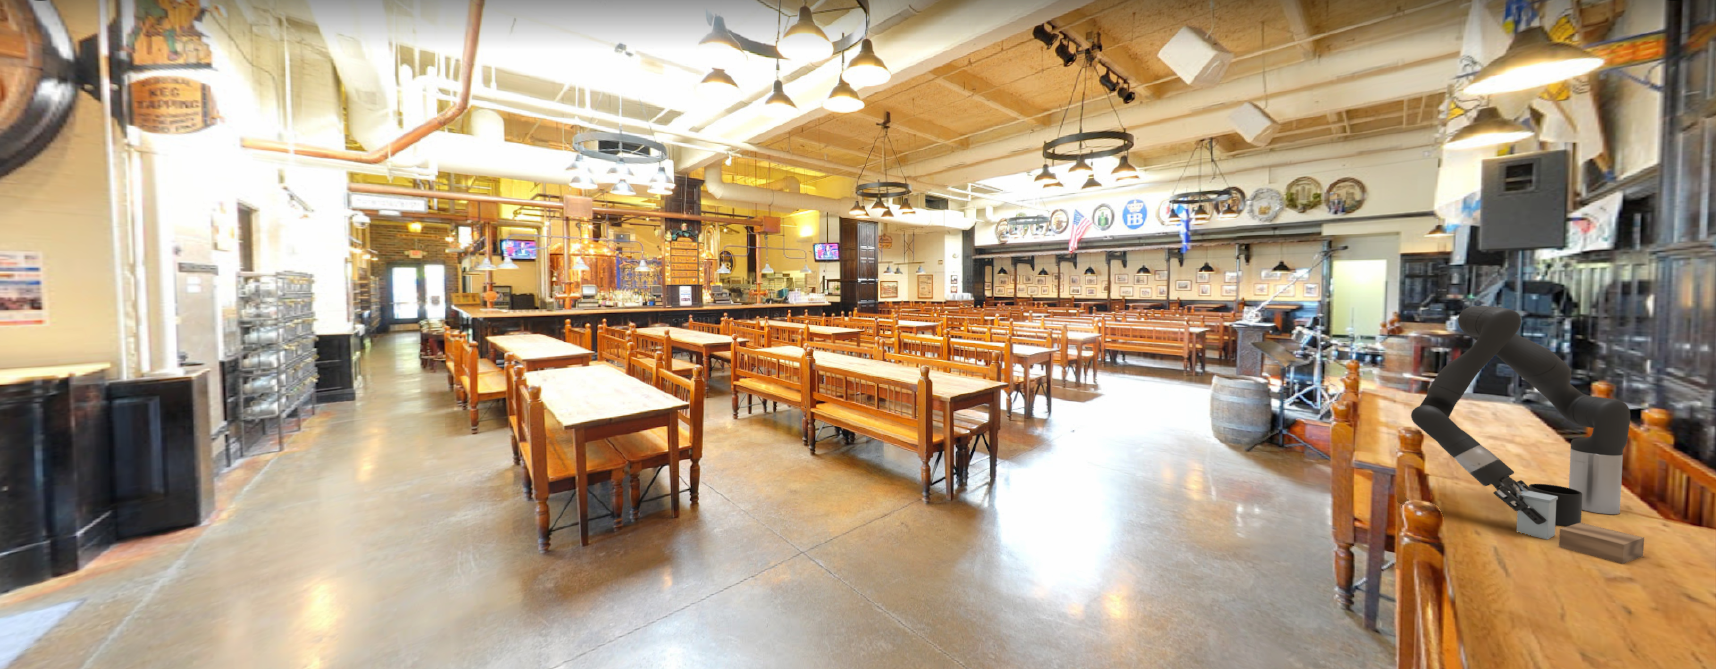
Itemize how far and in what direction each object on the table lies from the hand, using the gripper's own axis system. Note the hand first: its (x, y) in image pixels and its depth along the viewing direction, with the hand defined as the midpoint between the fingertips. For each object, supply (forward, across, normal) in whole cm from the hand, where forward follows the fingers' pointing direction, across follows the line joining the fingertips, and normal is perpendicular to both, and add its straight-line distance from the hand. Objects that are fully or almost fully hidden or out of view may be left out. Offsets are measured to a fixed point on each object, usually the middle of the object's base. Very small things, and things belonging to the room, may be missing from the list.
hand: (1546, 520), depth 147 cm
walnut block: (+10, -2, -3) cm, 10 cm away
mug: (+1, +18, +5) cm, 19 cm away
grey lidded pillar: (+2, 0, +4) cm, 5 cm away
